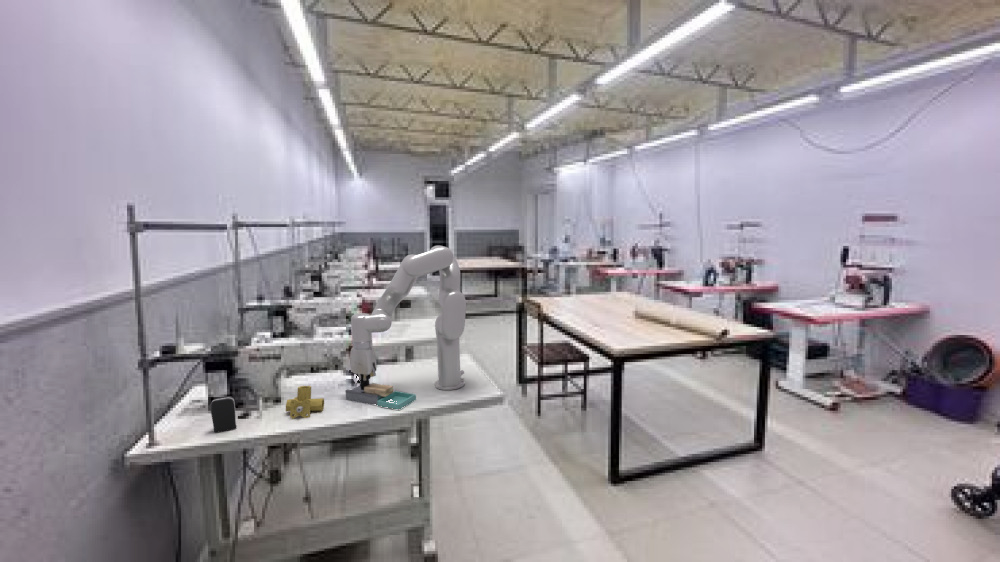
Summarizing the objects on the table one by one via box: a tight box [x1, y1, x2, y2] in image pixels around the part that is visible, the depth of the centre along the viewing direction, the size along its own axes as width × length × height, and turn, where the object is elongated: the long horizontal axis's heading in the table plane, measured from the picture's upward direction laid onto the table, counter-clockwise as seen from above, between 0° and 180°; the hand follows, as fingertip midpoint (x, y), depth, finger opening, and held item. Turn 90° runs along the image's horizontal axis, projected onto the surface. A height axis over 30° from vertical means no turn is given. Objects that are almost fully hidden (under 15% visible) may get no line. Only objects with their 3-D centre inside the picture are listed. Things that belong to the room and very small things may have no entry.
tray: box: [376, 390, 417, 410], centre depth 171 cm, size 11×10×2 cm
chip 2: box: [375, 384, 394, 397], centre depth 173 cm, size 5×5×2 cm
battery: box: [210, 395, 237, 433], centre depth 152 cm, size 7×4×11 cm, turn 116°
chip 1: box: [364, 382, 382, 394], centre depth 175 cm, size 5×5×2 cm
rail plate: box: [344, 382, 384, 406], centre depth 177 cm, size 9×16×4 cm, turn 66°
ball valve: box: [285, 385, 325, 420], centre depth 163 cm, size 13×10×10 cm
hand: (365, 388), depth 177 cm, fingers closed
